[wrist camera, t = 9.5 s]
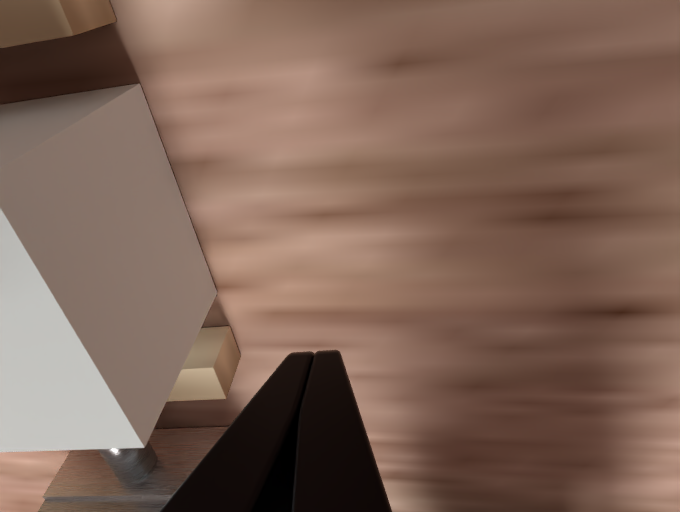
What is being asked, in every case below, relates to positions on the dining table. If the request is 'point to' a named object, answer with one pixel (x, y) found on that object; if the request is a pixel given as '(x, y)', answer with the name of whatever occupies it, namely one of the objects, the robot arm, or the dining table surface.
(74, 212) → the tilted light grey box
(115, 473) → the block
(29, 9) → the bay
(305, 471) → the robot arm
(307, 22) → the dining table surface
